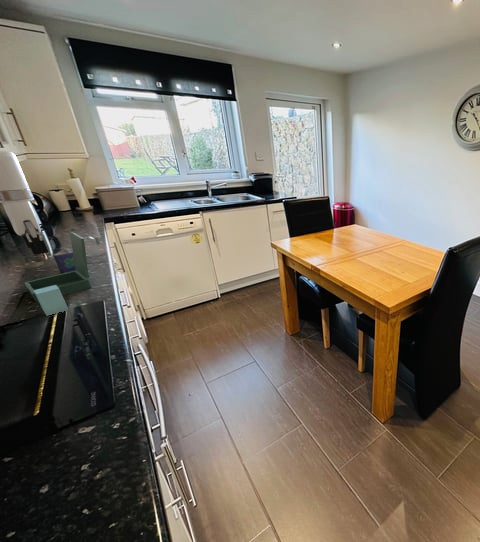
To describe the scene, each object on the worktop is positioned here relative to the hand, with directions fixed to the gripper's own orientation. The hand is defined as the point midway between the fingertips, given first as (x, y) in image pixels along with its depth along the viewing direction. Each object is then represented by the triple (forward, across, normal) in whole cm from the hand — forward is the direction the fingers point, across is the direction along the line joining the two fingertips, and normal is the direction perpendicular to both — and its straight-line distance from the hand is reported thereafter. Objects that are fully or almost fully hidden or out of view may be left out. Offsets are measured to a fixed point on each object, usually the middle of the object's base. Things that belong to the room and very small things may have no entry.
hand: (38, 250), depth 90 cm
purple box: (+21, -36, +10) cm, 43 cm away
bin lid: (+8, -16, +10) cm, 21 cm away
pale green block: (+21, +3, -2) cm, 21 cm away
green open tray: (+21, -16, +2) cm, 26 cm away
